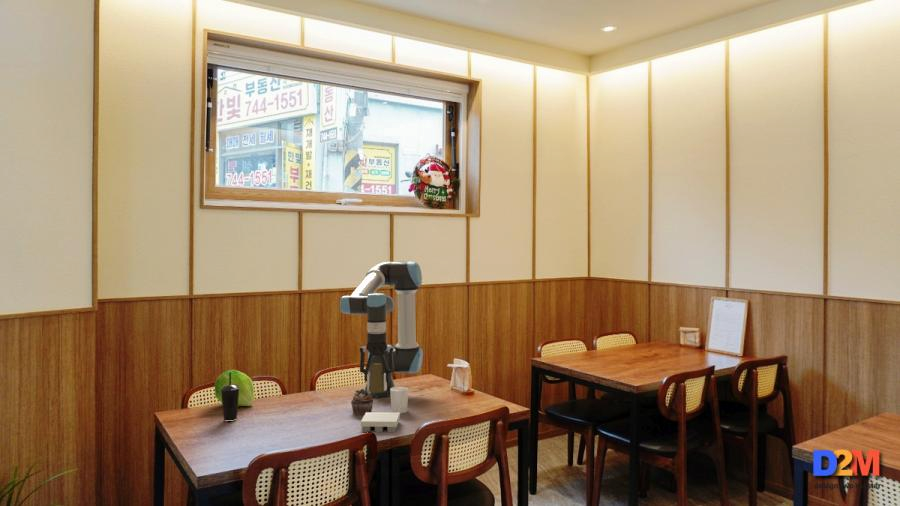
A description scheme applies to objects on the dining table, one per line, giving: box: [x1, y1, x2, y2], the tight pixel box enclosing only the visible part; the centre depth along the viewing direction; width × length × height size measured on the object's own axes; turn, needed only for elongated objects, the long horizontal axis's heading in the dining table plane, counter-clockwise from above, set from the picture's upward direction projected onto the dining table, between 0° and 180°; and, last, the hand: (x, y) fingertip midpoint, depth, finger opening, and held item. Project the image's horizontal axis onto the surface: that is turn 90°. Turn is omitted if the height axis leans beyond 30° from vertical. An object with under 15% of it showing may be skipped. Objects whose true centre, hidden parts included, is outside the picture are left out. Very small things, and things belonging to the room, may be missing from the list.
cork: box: [369, 363, 384, 393], centre depth 230 cm, size 6×6×11 cm
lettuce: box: [214, 369, 255, 407], centre depth 261 cm, size 17×20×16 cm
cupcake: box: [350, 388, 374, 416], centre depth 250 cm, size 10×10×10 cm
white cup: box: [390, 386, 409, 415], centre depth 251 cm, size 8×8×10 cm
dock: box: [360, 411, 401, 433], centre depth 230 cm, size 12×14×4 cm
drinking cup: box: [220, 372, 240, 421], centre depth 239 cm, size 8×8×20 cm
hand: (377, 389), depth 230 cm, fingers closed on cork, 6 cm apart
